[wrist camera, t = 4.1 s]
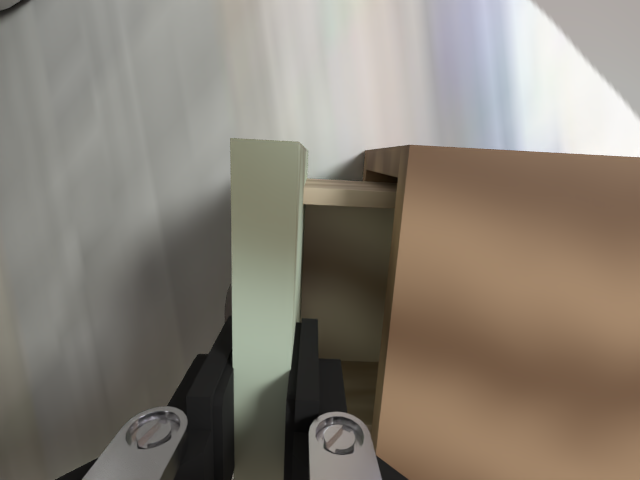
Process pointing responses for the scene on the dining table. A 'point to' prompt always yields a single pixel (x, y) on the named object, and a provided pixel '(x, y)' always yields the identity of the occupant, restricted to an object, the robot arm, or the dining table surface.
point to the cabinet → (510, 315)
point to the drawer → (300, 288)
